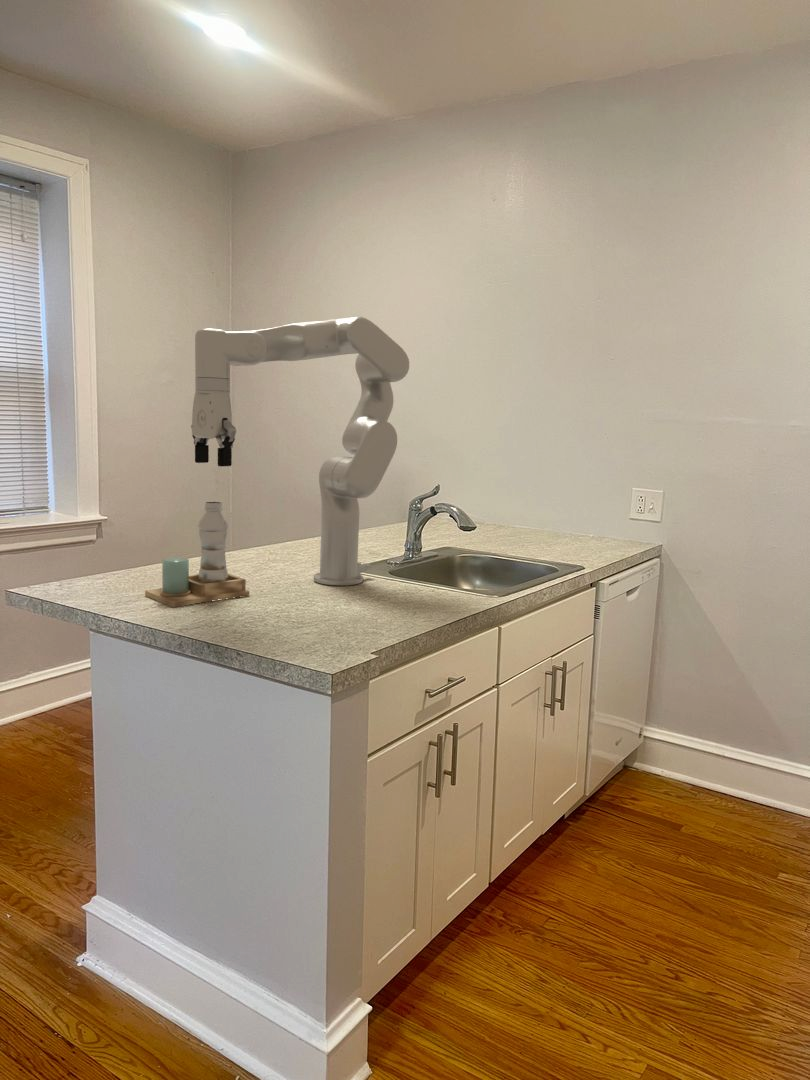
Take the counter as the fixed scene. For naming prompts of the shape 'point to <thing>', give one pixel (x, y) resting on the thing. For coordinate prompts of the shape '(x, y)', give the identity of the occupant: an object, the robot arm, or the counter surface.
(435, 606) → the counter surface
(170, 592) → the sage pillar candle
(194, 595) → the oak caddy
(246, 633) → the counter surface
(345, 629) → the counter surface
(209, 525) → the plastic bottle
